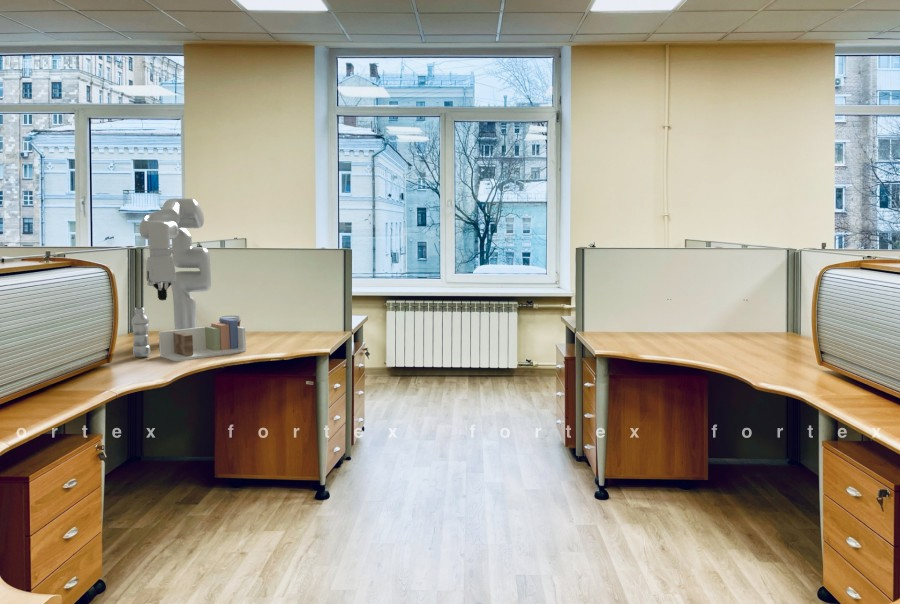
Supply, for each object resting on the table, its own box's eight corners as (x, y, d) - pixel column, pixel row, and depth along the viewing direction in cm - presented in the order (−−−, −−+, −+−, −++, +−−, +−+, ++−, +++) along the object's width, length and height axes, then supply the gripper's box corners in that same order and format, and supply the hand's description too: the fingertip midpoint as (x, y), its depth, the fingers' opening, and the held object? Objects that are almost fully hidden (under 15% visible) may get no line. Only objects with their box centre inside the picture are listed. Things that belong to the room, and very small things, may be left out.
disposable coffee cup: (235, 345, 312) (234, 318, 311) (215, 344, 314) (214, 318, 312) (245, 341, 321) (245, 315, 320) (226, 341, 323) (225, 315, 322)
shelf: (159, 356, 288) (158, 324, 286) (229, 347, 308) (227, 317, 307) (175, 361, 277) (173, 328, 275) (245, 351, 298) (244, 320, 296)
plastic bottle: (144, 355, 290) (141, 306, 288) (154, 356, 286) (151, 307, 284) (129, 357, 285) (127, 308, 283) (139, 359, 281) (136, 309, 279)
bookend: (174, 352, 289) (173, 332, 288) (181, 351, 291) (180, 332, 291) (185, 355, 282) (184, 336, 281) (193, 354, 284) (192, 335, 283)
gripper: (174, 252, 284) (177, 297, 287) (136, 253, 274) (139, 300, 277) (182, 252, 279) (185, 299, 282) (144, 254, 269) (147, 302, 271)
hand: (162, 299), depth 279 cm, fingers closed
